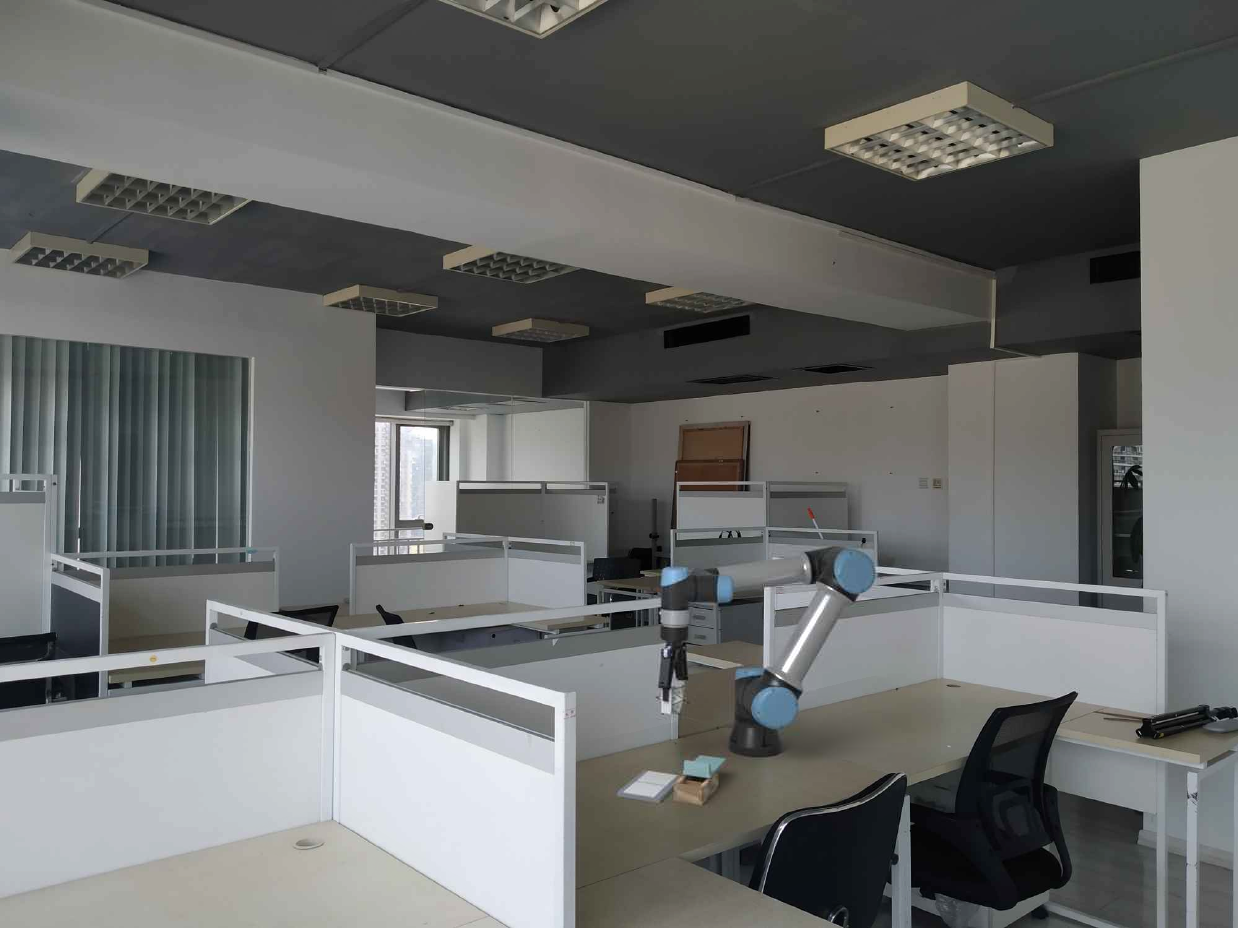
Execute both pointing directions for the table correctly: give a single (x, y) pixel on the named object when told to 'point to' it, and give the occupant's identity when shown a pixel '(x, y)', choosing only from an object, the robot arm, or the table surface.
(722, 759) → the lid
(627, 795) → the board
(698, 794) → the box
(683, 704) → the game die
